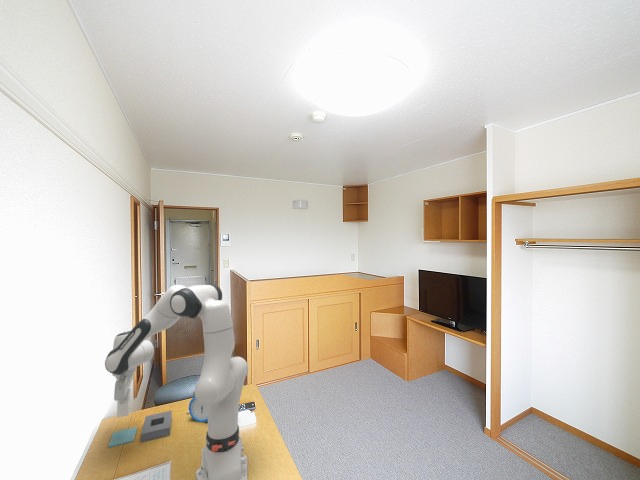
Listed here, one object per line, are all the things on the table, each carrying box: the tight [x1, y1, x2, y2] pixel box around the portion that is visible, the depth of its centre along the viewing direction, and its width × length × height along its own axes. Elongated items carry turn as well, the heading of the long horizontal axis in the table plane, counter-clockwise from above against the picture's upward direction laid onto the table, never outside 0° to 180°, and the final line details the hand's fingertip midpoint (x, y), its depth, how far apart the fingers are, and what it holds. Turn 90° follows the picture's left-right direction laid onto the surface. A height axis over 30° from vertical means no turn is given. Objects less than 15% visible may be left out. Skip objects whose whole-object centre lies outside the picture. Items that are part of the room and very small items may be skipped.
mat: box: [107, 426, 138, 449], centre depth 123 cm, size 10×9×1 cm
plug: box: [116, 387, 131, 418], centre depth 123 cm, size 4×4×12 cm
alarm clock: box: [188, 391, 210, 423], centre depth 137 cm, size 13×6×15 cm, turn 83°
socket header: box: [140, 410, 173, 443], centre depth 128 cm, size 14×11×4 cm
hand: (124, 400), depth 123 cm, fingers closed on plug, 4 cm apart
